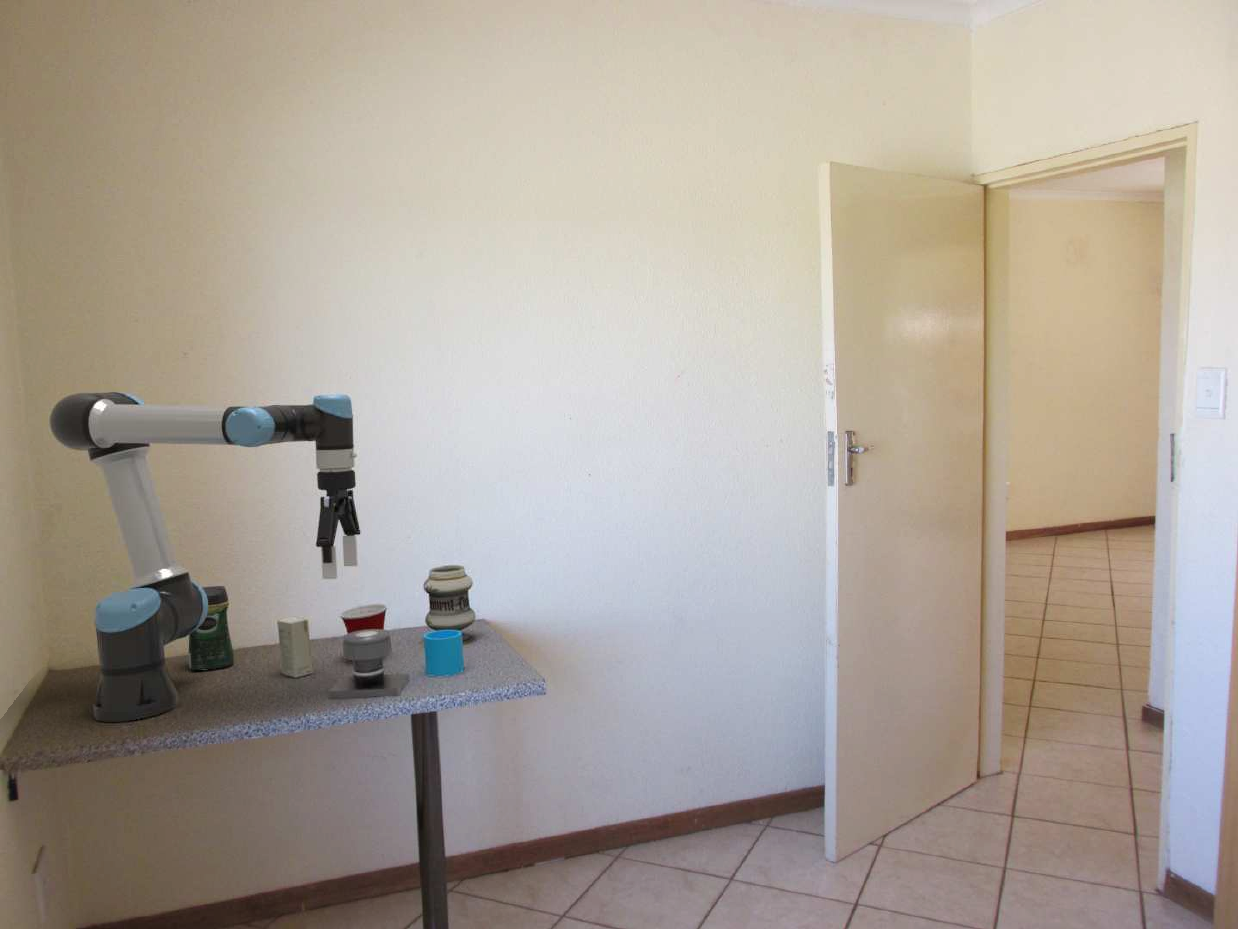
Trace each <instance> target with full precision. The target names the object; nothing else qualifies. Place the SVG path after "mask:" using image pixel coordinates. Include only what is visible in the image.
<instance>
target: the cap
mask: <svg viewBox="0 0 1238 929" xmlns="http://www.w3.org/2000/svg"><path fill="white" fill-rule="evenodd" d="M390 634H391V633H390V631H389V630H387V629H384V630H383V629H368V630H360V631H355V632H351V633H346V634H345V635H343V636H342V637H343V641H342V649H343V650H342V651H343V658H345V659H346V660H350V661H353V660H369V659H375V658H380V657H383V658H384V657H386V656H388V655H389V654H390V653H392V640H391V635H390Z"/></svg>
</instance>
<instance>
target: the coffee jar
mask: <svg viewBox="0 0 1238 929" xmlns="http://www.w3.org/2000/svg"><path fill="white" fill-rule="evenodd" d="M201 587H202V586H201ZM202 589H203V590H204V592H205V593H206V596H207V599H208V612H207V616H206V618H205V620H204V622H203V623H202V624H201V626H200V627H199V628H198V629H196V630H195V631H193V632H192V633H191V634H189V635H188V666H189V667H188V668H189V669H190V670H191V669H192V671H194V670H202V669H213V670H217V669H216V668H219V669H222V667H223V668H227V667H229V666H230V665H233V663H234V662H235V655H234V650H233V645H232V644H233V643H232V640H231V635H230V630H229V624H228V608H229V604H230V602H229V601H230V600H229V597H228V594H227V590H226V587H225V586H224V585H215V586H205V587H202ZM226 666H227V667H226Z"/></svg>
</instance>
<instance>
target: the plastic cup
mask: <svg viewBox="0 0 1238 929" xmlns="http://www.w3.org/2000/svg"><path fill="white" fill-rule="evenodd" d="M387 610H388V605H387V604H384V603H369V604H364V605H358V606H355V607H354V606H353V607H350V608H348V609H345V610H343V611H342V612H340V613H339V618H340V619H341V620H342V622H343V624H344V627H345V629H346V634H348V633H351V632H355V631H360V630H368V629H383V630H385V621H386V612H387Z"/></svg>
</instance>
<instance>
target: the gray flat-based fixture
mask: <svg viewBox="0 0 1238 929" xmlns="http://www.w3.org/2000/svg"><path fill="white" fill-rule="evenodd" d="M352 667H353V668H352V676H346V675H345V676H342V677H341V678H340V679H339V680H338V681H337V682H336V683H335V684H334V685H333V686H332V687H330V689H329V690H328V691H327V694H328V699H349V698H351V699H352V698H374V697H373V696H379V697H394V696H395V697H397V696H399V695H400V694H401V693H402V691H403V690H404V688H405V687H406V686H407V684H408V683H409V682H410V674H409V673H395V674H385V665H384V656H383V657H380V658H375V659H369V660H352ZM408 681H409V682H408ZM399 693H400V694H399ZM396 695H397V696H396ZM371 696H372V697H371Z"/></svg>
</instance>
